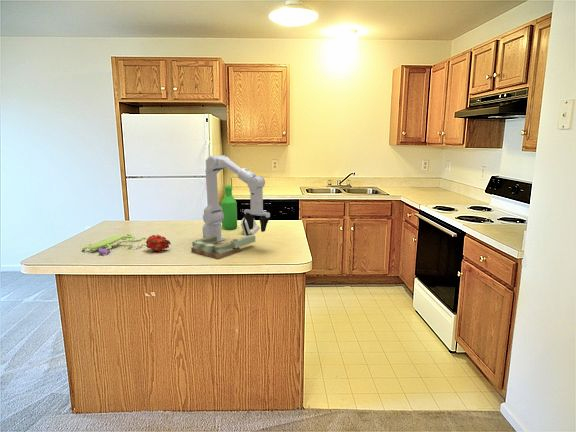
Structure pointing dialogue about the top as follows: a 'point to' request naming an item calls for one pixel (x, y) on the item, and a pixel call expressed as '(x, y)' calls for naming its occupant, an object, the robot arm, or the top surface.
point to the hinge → (246, 227)
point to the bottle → (229, 210)
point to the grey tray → (213, 248)
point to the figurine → (109, 241)
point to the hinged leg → (243, 241)
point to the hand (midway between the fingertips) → (257, 230)
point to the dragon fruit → (157, 243)
